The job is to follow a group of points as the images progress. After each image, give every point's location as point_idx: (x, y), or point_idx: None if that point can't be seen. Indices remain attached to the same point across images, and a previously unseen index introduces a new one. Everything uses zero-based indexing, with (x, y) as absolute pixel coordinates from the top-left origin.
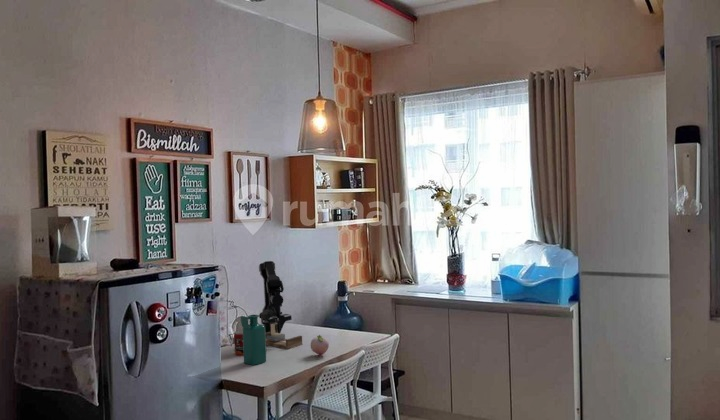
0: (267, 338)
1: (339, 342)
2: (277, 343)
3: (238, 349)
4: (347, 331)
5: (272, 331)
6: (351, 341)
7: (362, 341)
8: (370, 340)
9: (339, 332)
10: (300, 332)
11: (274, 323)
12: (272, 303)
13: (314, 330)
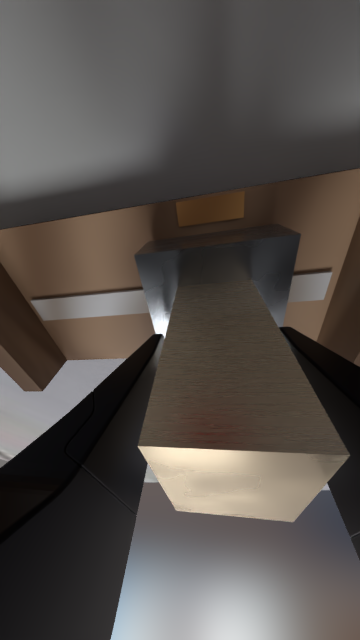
0: (277, 227)
1: (26, 421)
2: (103, 231)
3: None
4: (145, 479)
5: (229, 310)
6: (23, 436)
7: (9, 443)
8: (12, 452)
9: (152, 472)
10: None
11: (251, 487)
12: None
13: None
